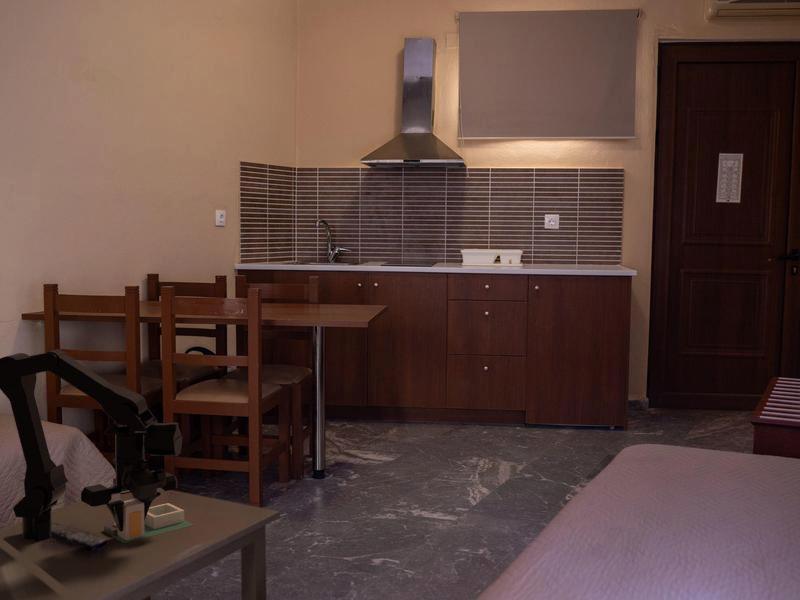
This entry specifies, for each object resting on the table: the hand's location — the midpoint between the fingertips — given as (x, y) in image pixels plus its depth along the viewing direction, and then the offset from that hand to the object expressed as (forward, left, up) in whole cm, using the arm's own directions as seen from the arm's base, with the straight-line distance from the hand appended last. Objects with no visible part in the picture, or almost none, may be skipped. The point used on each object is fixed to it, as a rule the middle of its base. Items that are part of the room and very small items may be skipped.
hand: (130, 528), depth 168 cm
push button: (-4, 0, -2) cm, 5 cm away
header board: (-2, +5, -2) cm, 6 cm away
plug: (0, 0, -2) cm, 2 cm away
